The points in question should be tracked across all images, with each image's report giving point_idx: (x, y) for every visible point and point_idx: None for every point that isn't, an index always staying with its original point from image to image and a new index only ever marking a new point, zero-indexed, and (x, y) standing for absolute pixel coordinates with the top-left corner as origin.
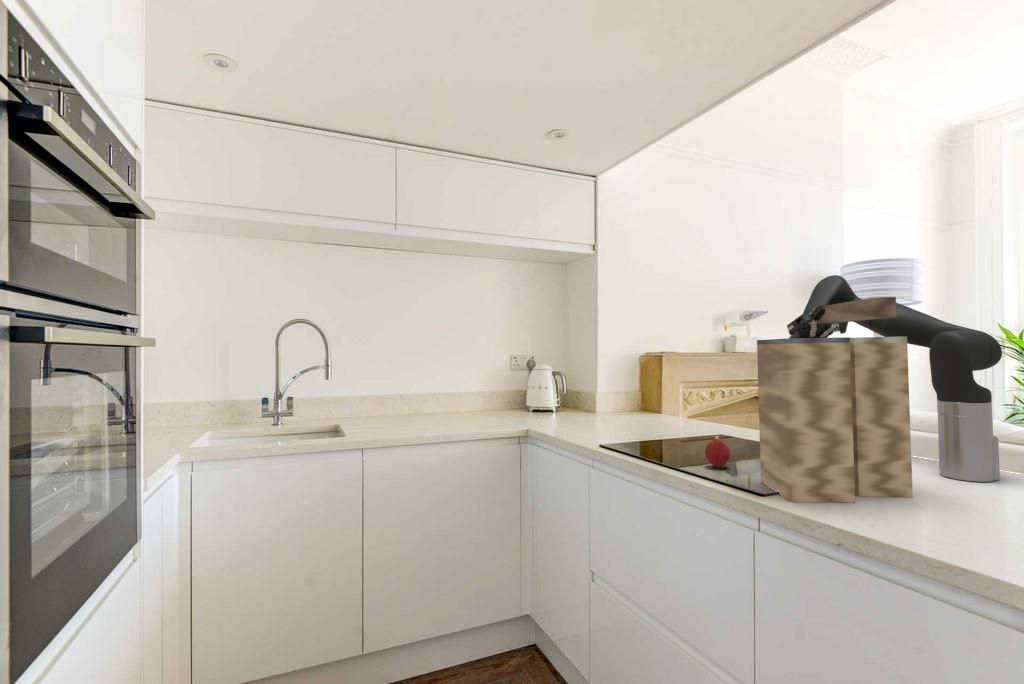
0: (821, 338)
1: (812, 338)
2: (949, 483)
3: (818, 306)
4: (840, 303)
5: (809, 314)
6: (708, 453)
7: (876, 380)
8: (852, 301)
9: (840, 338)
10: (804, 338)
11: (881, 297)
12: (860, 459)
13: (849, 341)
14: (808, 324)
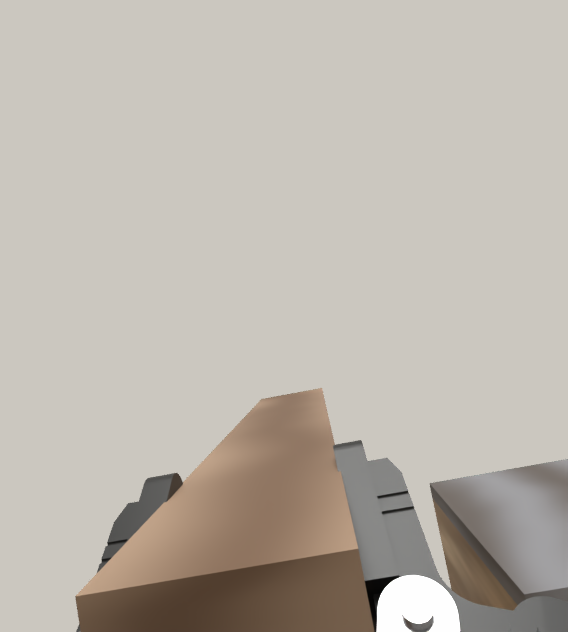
0: (507, 471)
1: (532, 466)
2: None
3: (368, 465)
4: (327, 417)
5: (455, 615)
6: None
7: None
8: (324, 402)
9: (455, 481)
10: (554, 462)
11: (300, 392)
12: None
13: (433, 495)
14: None
